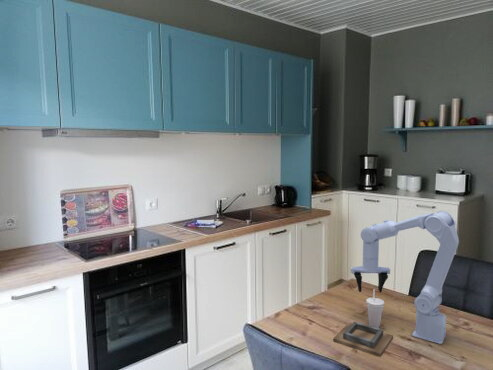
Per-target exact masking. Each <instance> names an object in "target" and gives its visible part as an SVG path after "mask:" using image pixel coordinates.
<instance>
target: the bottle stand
mask: <svg viewBox="0 0 493 370" xmlns="http://www.w3.org/2000/svg"><path fill="white" fill-rule="evenodd" d="M393 339H394V335H393V334H389V333H386V332H384V329H382V328H380V327H379V328H376V327H372V326H369V324H364V323H361V322H357V321H355V320H354V321H353V322H348V323H346V324H345V326H344V327H343V328H342V329H341V330H340V331H338V333H337V334H336V335H335V336H334V337H333V339H332V340H333V342H334V343H337V344H340V345H344V346H347V347H350V348H353V349H356V350H359V351H362V352H365V353H368V354H371V355H374V356H378V357H380V358H381V356H382V355H383V354H384V352H385V351H386V349H387V348H388V347H389V345H390V343H391V342H392V340H393Z"/></svg>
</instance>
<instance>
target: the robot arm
mask: <svg viewBox="0 0 493 370" xmlns="http://www.w3.org/2000/svg"><path fill="white" fill-rule="evenodd" d="M456 224H457V223H456V220H455V219H454V218H453V217H452V215H451V214H450V213H449V212H447V211H444V210H443V211H437V212H436V213H435V212H429V213H424V214H419V215H417V216H416V215H415V216H414V217H410V218H407V219H403V220H401V221H397V222H395V221H394V220H389V219H385V220H383V222H382V223H378V224H377V223H373V224H372V226H371V225H370V226H368V227H367V226H366V227H365V228H363V229H362V230H361V232H360V238H361V240H362V242H363V244H362V266H361V265H360V266H351V267H350V273H351V275H352V274H353V276H354V278H355V280H356V283H357V289H358V291H359V293H362V291H363V290H362V289H363V288H362V281H363V280H362V279H363V276H362V274H377V275H378V276H377V277H378V285H377V290H378V292H379V293H382V292H383V288H384V285H385V283H386V281H387V280H388V278H389V275H391V269H390V268H389V267H387V266H385V267H382V266H379V255H380V254H379V250H380V249H379V248H380V247H379V245H380V242H379V241H380V240H384V239H388V238H391V237H395V236H397V235H398V234H399V232H401V231H405V230H409V229H413V228H417V227H418V228H419V229H421V230H426V231H427V232H428V233H429V234H431V235H432V236H433V237H434V238H436V240H437V241H438V243H439V247H438V249H437V252H436V254H435V258H434V261H433V263H432V266H431V268H430V271H429V274H428V277H427V279H426V282H425V285H424V286H423V287H422V289H421V291H420V294H419V295H418V296H417V297H415V298H414V302H413V303H414V308H415V309H416V313H415V314H416V315H415V329H414V330H413V332H412V334H411V336H412V337H414V338H417V339H422V340H425V341H429V342H431V343H436V344H439V345H443V343H444V341H445V338H446V335H447V315H445V314H443V313H441V312H440V310H439V306H440V305H441V304H442V301H443V298H442V293H443V286H444V283H445V280H446V278H447V275H448V273H449V271H450V268H451V265H452V262H453V261H454V260H453V259H454V257H455V254H456V252H457V249H458V246H459V244H460V239H459V236H458V232H457V228H456V226H457V225H456Z"/></svg>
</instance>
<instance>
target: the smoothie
mask: <svg viewBox="0 0 493 370" xmlns="http://www.w3.org/2000/svg"><path fill="white" fill-rule="evenodd" d="M375 292H376V289H375V288H373V290H372V297H367V298H366V301H365V304H366V306H367V316H368V317H367V318H368V325H369V326H372V327H376V328H379V329H380V327H381V321H382V315H383V309H384V307H385V301H384V300H383V299H381V298H380V297H379V298H377V297H375V295H376V293H375Z"/></svg>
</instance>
